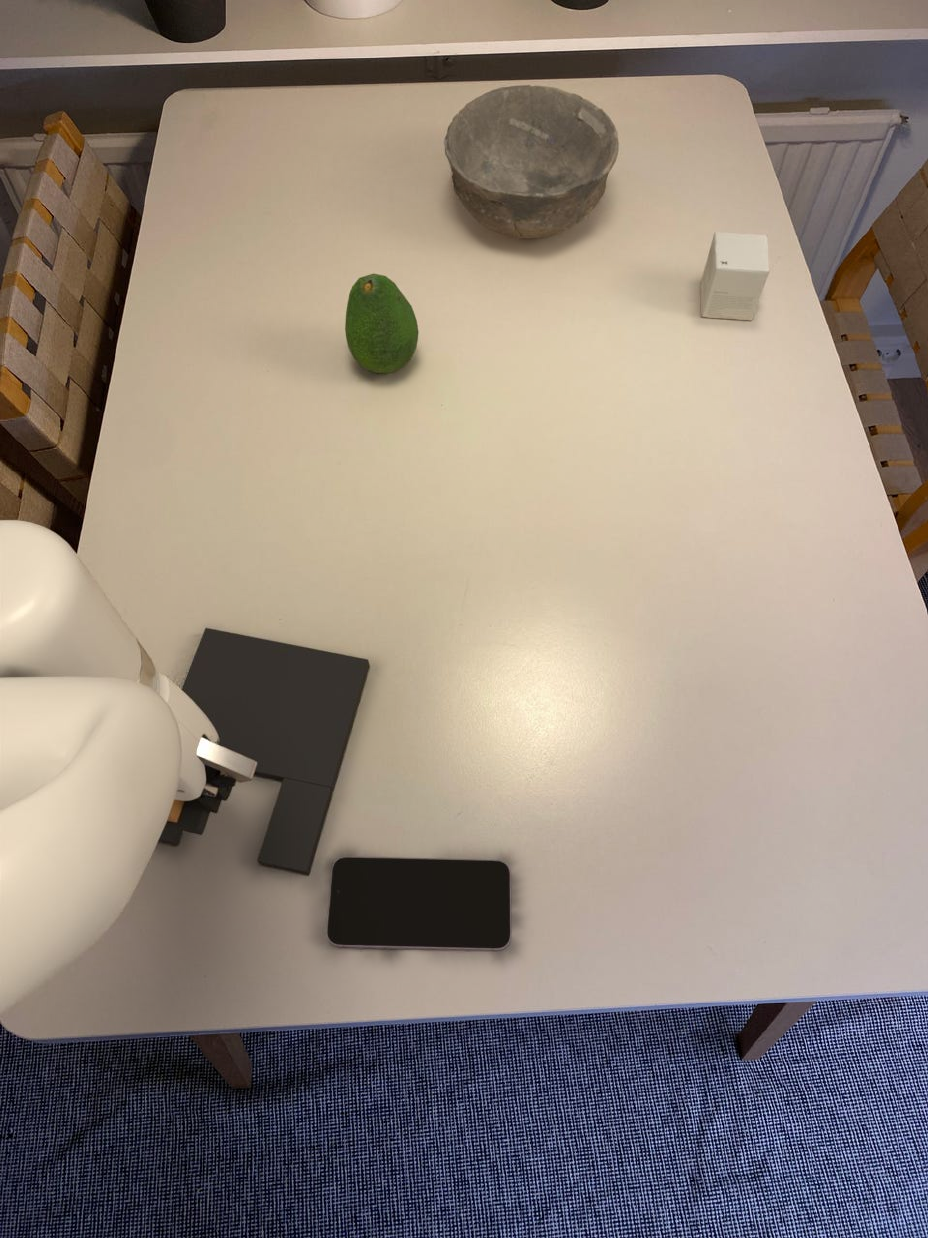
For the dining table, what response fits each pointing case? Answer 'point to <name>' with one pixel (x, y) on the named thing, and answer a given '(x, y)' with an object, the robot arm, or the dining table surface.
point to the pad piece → (188, 816)
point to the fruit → (380, 325)
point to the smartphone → (419, 903)
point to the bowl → (530, 159)
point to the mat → (280, 728)
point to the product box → (734, 275)
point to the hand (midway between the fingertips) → (173, 782)
